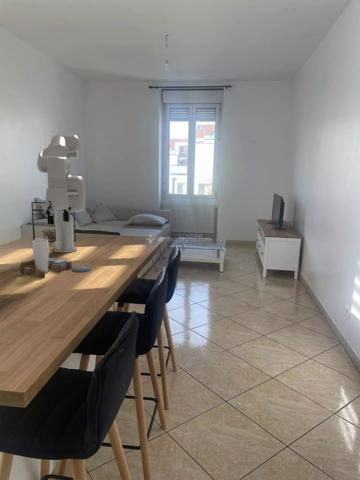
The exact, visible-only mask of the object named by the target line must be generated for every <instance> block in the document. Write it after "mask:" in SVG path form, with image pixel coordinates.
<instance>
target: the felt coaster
mask: <svg viewBox="0 0 360 480" xmlns="http://www.w3.org/2000/svg"><path fill="white" fill-rule="evenodd" d="M70 269H71V271H72V272H74V273H85V272H90V271H91V270H92V268H91V266H88V265H78V266H72V268H70Z"/></svg>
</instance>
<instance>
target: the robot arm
mask: <svg viewBox="0 0 360 480" xmlns="http://www.w3.org/2000/svg"><path fill="white" fill-rule="evenodd" d="M81 156H82V144H81V140H80V138H79V137H78V136H77V135H76V134H75V135H74V134H55V135H53V136H52V137H51V139H50V143H49V144H48V146H47V147H46V148H42V149H41V151H40V152H39V153H38V156H37V161H36V162H37V163H36V166H37V169H38V171H39V172H41V174H42V173H43V174H47V188H46V194H45V203H44V205H42V209H43V213H45V215H46V216H47V218H46V220H47V225H50V226H51V225H52V226H53V225H55V241H53V243H52V246H54V248H53V251H54V252H55V253H61V254H63V253H66V254H67V253H72V252H76V251H77V250H78V248H77V246H75V241H74V239H75V237H74V220H73V217H72V216H71V215H70V213H80V212H81V213H82V212H85V209H86V189H85V188H86V187H85V186H86V185H85V180H84V178H83V176H79V175H71V161H70V159H72V160H77V159H81Z"/></svg>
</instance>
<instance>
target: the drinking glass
mask: <svg viewBox="0 0 360 480" xmlns="http://www.w3.org/2000/svg"><path fill="white" fill-rule="evenodd" d="M31 242H32V251H33V252H32V253H33V259H34V260H35V266H36V269H39V270H43V271H45V274H46V273H49V270H48V259H49V255H50V253H49V252H50V251H49V250H50V248H49V247H50V246H49V245H50V244H49V240H48V239H46V238H38V239H33V240H32V241H31Z"/></svg>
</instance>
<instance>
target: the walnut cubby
mask: <svg viewBox="0 0 360 480" xmlns="http://www.w3.org/2000/svg"><path fill="white" fill-rule="evenodd" d="M72 268H73V263H72V261H68V260H66V259H60V258H56V257H54V254H50V253H49V259H48V271H49V270H50V271H53V272H59V273H61V272H63V270H66V269H69V270H70V269H72ZM20 272H21V274H22V275H25V276H30V277H35V278H41V279H44V278H45V277H46V273H45V271H43V270H39V269H36V266H35V260H34V258H33V259H30V260H26V261H23V262H20Z"/></svg>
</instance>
